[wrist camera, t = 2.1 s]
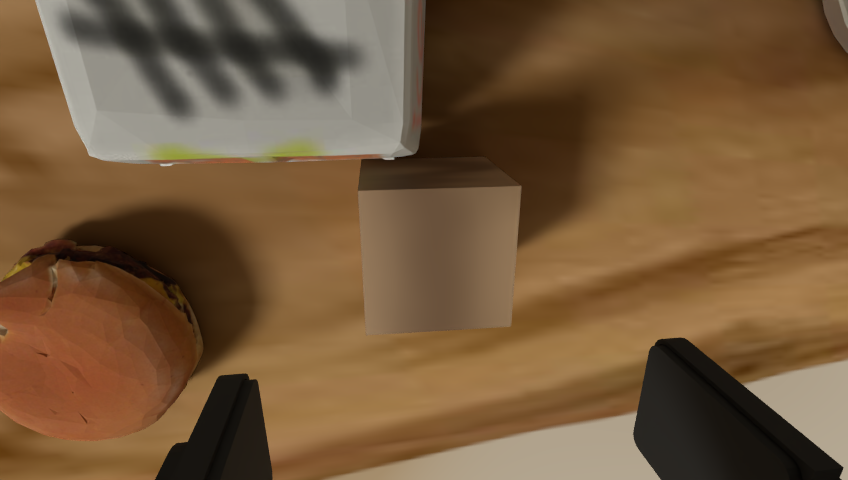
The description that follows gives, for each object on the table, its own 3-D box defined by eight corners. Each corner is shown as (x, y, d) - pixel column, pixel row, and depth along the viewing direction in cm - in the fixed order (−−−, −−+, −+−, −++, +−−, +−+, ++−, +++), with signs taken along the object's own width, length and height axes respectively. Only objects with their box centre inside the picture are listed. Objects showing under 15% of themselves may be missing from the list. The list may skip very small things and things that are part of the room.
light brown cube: (484, 156, 22) (521, 185, 17) (479, 267, 25) (510, 326, 19) (361, 159, 22) (357, 190, 16) (367, 272, 24) (366, 335, 18)
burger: (182, 417, 26) (144, 487, 22) (-1, 367, 24) (-84, 434, 19) (237, 272, 23) (206, 319, 19) (36, 200, 21) (-51, 235, 17)
